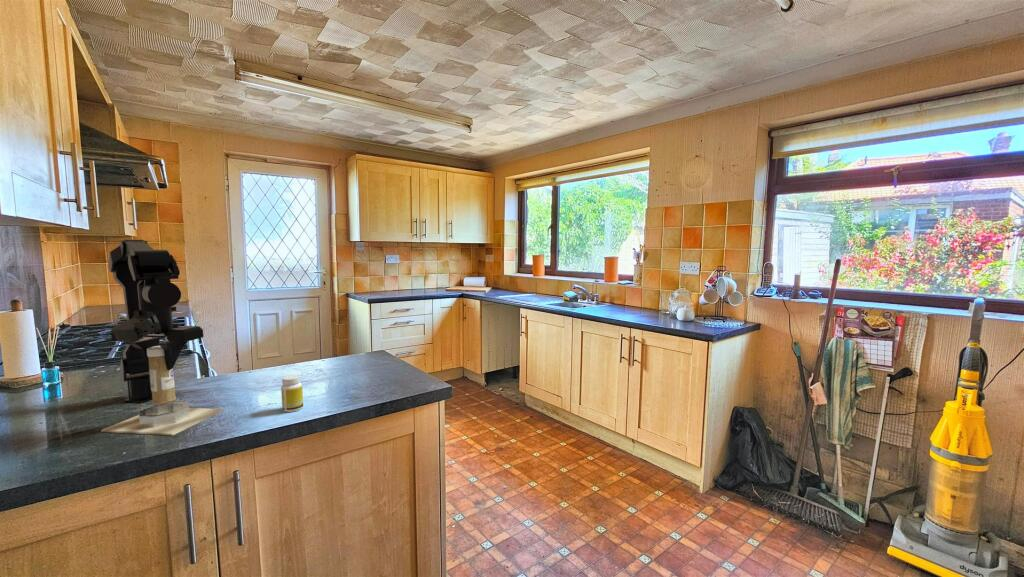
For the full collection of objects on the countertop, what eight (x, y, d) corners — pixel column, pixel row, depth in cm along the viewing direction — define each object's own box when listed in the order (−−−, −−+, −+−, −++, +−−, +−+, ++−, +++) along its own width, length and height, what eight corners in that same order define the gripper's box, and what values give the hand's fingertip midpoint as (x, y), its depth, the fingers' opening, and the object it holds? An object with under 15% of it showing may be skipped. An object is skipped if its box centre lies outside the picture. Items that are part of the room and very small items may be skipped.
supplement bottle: (307, 406, 109) (305, 375, 108) (292, 413, 105) (290, 380, 104) (293, 404, 111) (291, 373, 110) (278, 411, 106) (276, 378, 105)
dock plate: (101, 431, 95) (101, 430, 95) (159, 408, 109) (159, 406, 109) (172, 435, 93) (172, 433, 93) (223, 410, 107) (223, 409, 107)
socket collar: (129, 426, 97) (128, 415, 97) (166, 411, 106) (165, 401, 106) (164, 427, 96) (164, 417, 96) (198, 412, 105) (198, 402, 105)
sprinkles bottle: (175, 402, 100) (170, 347, 99) (150, 406, 97) (144, 350, 96) (177, 397, 104) (172, 343, 102) (153, 400, 101) (148, 346, 100)
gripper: (81, 308, 91) (89, 378, 93) (158, 309, 89) (164, 381, 91) (133, 301, 102) (139, 364, 104) (202, 302, 100) (207, 366, 102)
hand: (161, 369), depth 100 cm, fingers closed on sprinkles bottle, 4 cm apart
